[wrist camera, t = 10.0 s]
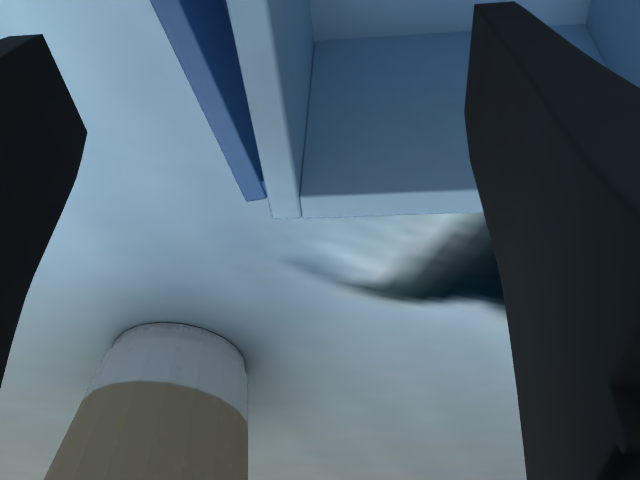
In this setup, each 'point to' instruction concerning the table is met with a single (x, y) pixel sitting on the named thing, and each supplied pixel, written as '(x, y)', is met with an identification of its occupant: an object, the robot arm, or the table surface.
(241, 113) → the steel blue bin
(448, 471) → the table surface
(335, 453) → the table surface
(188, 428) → the coffee cup
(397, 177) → the pale blue bin
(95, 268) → the table surface
